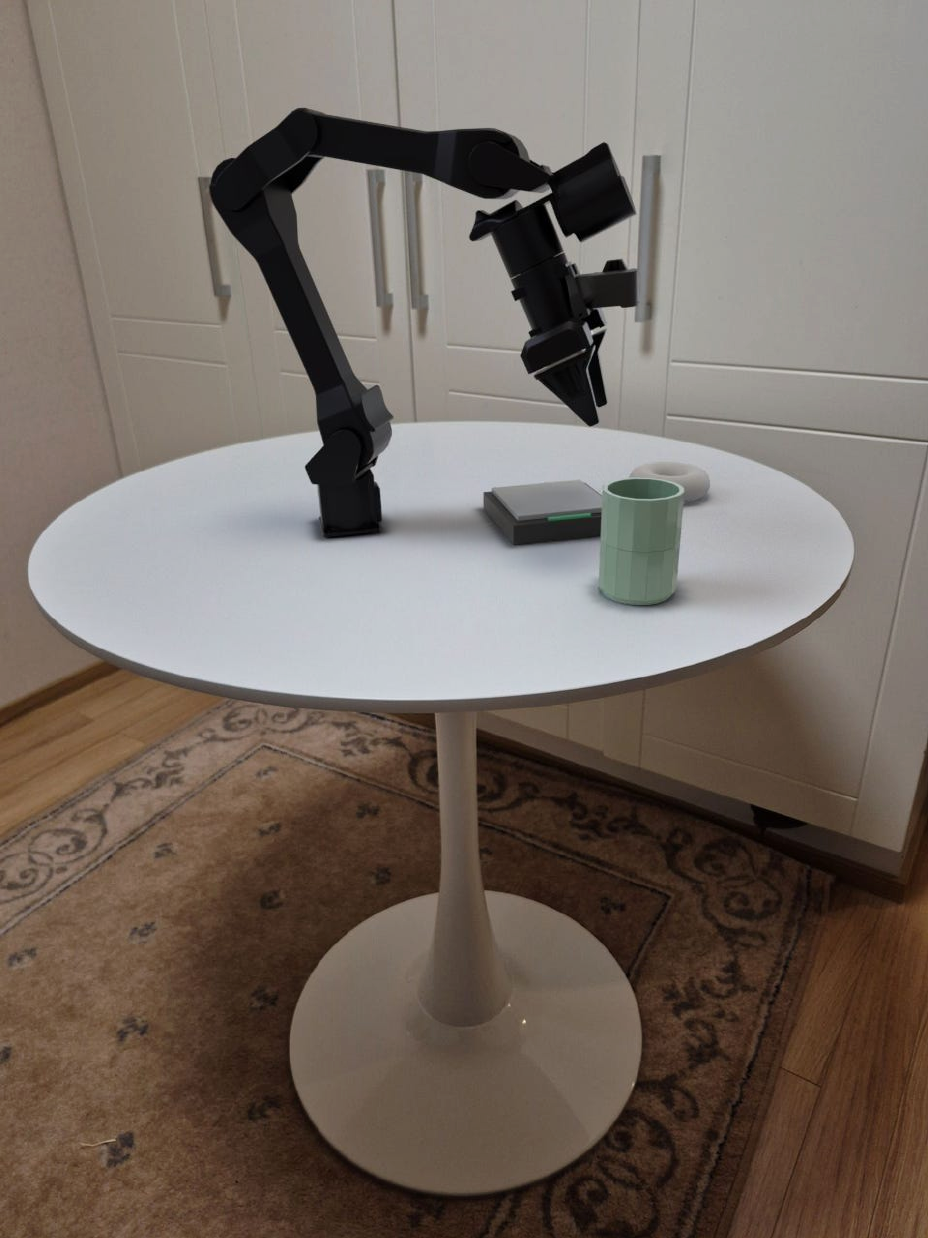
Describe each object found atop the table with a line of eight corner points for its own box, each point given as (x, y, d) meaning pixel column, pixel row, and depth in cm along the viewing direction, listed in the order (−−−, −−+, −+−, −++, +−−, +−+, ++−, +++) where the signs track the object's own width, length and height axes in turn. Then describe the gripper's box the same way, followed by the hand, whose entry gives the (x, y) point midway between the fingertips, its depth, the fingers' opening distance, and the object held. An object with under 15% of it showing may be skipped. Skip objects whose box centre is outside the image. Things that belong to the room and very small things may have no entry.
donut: (699, 484, 112) (622, 483, 112) (702, 458, 110) (624, 458, 111) (717, 507, 103) (633, 507, 103) (720, 479, 101) (635, 479, 102)
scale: (513, 545, 93) (513, 520, 92) (483, 509, 104) (483, 487, 103) (625, 532, 95) (627, 508, 94) (584, 499, 107) (585, 477, 106)
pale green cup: (615, 611, 77) (621, 503, 72) (587, 581, 83) (591, 481, 79) (688, 601, 78) (698, 495, 74) (655, 573, 84) (662, 474, 80)
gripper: (606, 227, 72) (673, 400, 76) (622, 224, 88) (676, 366, 93) (489, 288, 76) (559, 448, 81) (525, 274, 92) (581, 408, 97)
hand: (599, 414), depth 88 cm, fingers open, 9 cm apart
